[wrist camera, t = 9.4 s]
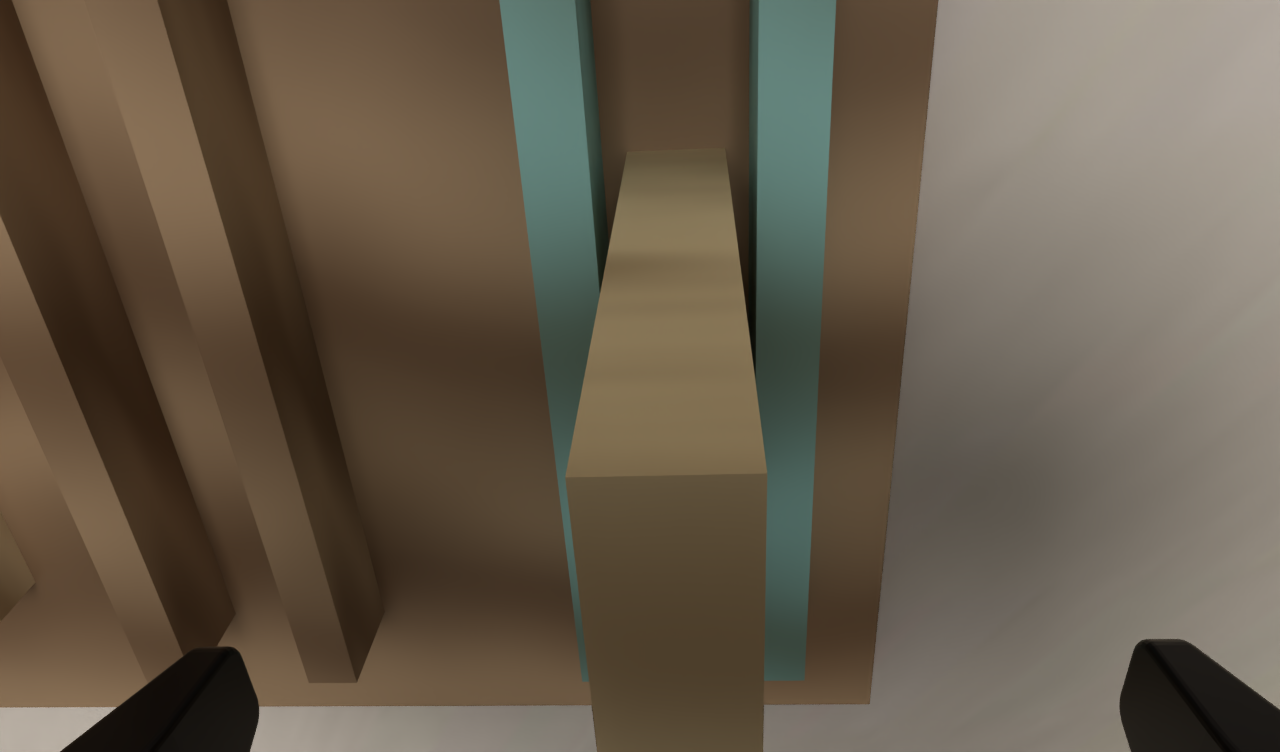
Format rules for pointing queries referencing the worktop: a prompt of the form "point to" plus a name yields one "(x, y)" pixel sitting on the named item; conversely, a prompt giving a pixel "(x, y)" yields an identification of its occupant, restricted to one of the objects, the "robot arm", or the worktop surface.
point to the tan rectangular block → (671, 473)
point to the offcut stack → (11, 571)
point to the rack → (418, 326)
